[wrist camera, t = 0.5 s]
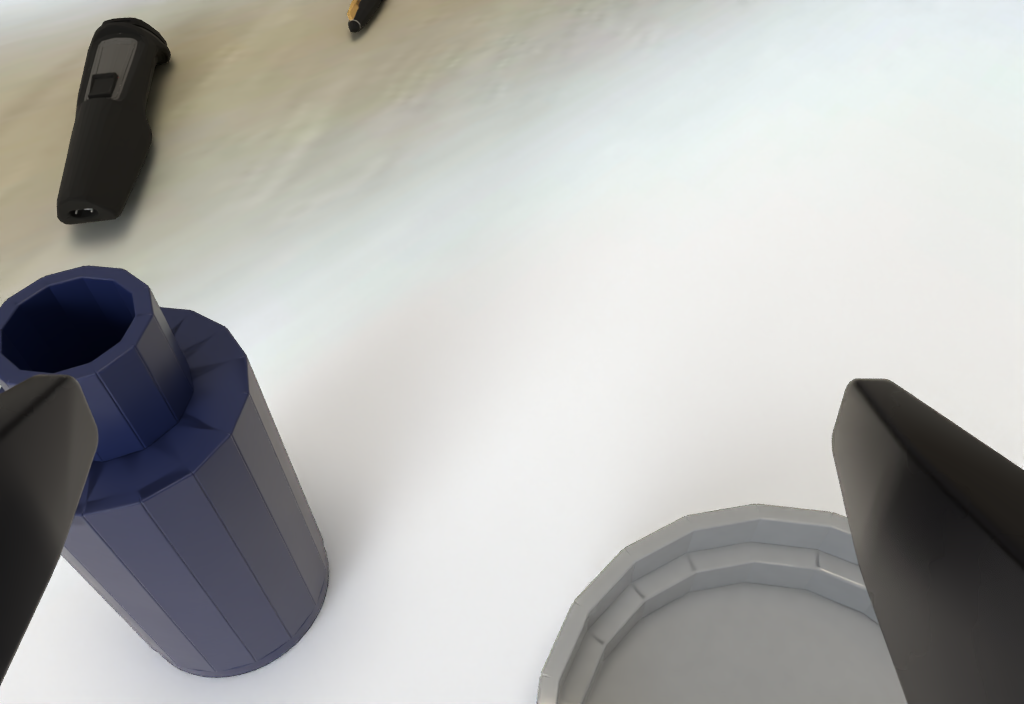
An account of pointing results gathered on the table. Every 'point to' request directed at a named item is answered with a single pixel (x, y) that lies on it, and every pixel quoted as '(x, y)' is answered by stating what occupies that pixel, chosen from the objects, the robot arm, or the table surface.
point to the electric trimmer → (110, 121)
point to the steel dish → (727, 618)
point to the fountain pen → (361, 13)
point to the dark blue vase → (174, 473)
